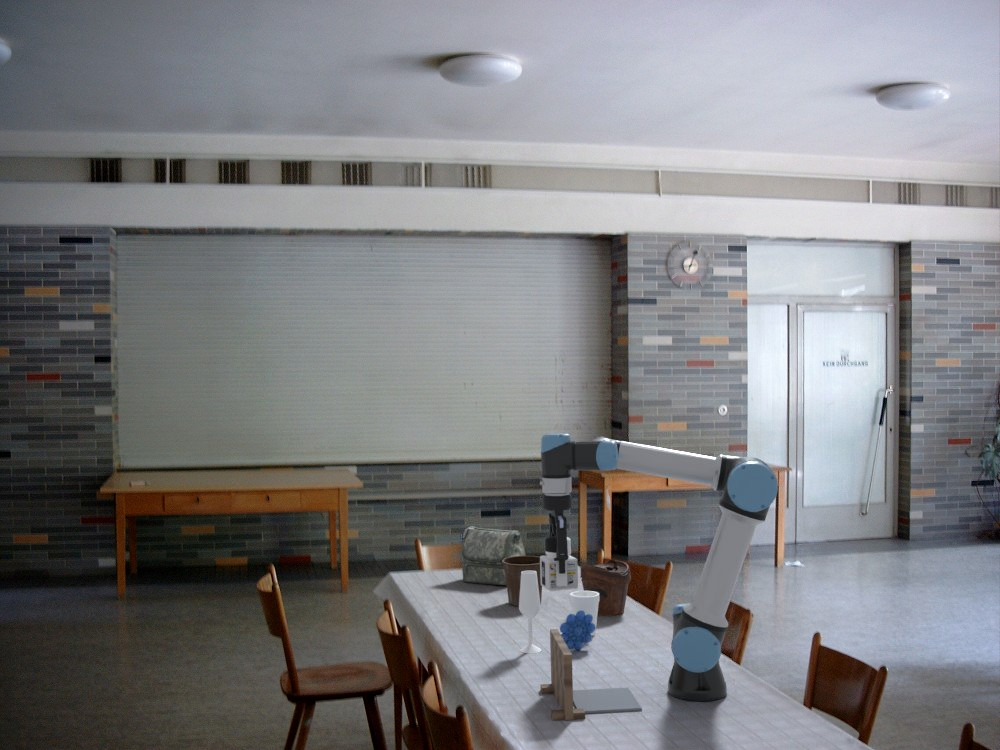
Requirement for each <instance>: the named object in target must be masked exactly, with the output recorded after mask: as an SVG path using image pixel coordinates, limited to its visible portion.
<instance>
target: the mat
mask: <svg viewBox="0 0 1000 750" xmlns="http://www.w3.org/2000/svg"><path fill="white" fill-rule="evenodd" d="M573 706H575V709H578V708H583V709H584V711H585V714H599V713H601V714H602V713H616V712H618V713H619V712H635V711H636V712H637V711H638V712H639V711H643V707H642V706H641V705H640V703H639V701H638V700H637V698H636V697H635V696H634V694H633V693H632V691H631V690H630V689H629V687H615V688H614V687H613V688H595V689H594V688H592V689H577V690H576V689H573Z"/></svg>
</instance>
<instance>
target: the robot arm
mask: <svg viewBox="0 0 1000 750" xmlns="http://www.w3.org/2000/svg"><path fill="white" fill-rule="evenodd" d="M540 444H541V447H540V457H541V460H540V461H541V463H540V464H541V481H540V482H539V485H540V486H541V488H542V489H541V491H542V493H543V494H542V509H543V510H545V511H551V512H548V524H549V532H548V534H549V536H548V537H550V536H555V545H556V558H554V561H556V586H567V559H568V549H567V537H568V535H567V523H568V522H567V516H565V514H564V511H568V510H571V509H572V508H573V503H572V500H573V497H572V494H570V493H571V492H572V491H573V490H572V488H573V487H572V485H573V484H572V471H602V472H605V471H615V470H622V471H627V472H633V473H639V474H643V475H650V476H655V477H658V478H659V477H661V478H666V479H671V480H675V481H676V480H677V481H682V482H687V483H692V484H699V485H703V486H709V487H712V489H713V490H714V491H716V492H721V493H722V494H721V498H720V499H719V502H718V506H719V509H720V510H721V513H722V514H721V516H720V520H719V523H718V525H717V528H716V531H715V534H714V536H713V540H712V543H711V546H710V548H709V551H708V554H707V557H706V560H705V563H704V566H703V568H702V572H701V573H700V578H699V580H698V584H697V585H696V588H695V592H694V595H693V598H692V600H691V602H690V603H679V604H675V605H674V606H673V609H672V614H671V615H672V621H673V623H672V625H673V626H672V628H673V629H672V630H673V631H672V639H671V648H670V649H671V653H672V656H673V665H672V667H671V672H670V675H669V677H668V681H667V682H668V683H667V693H668V694H670V695H671V696H673V697H675V698H678V699H682V700H685V701H694V702H710V701H715V700H721V699H722V698H724V697H726V695H727V690H728V689H727V682H726V680H725V677H724V676H725V675H724V674H723V671H722V668H721V665H720V658H721V656H722V646H723V641H724V638H725V636H726V634H727V631H728V627H729V622H728V620H727V619H726V614H727V610H728V608H729V605H730V602H731V598H732V596H733V594H734V590H735V588H736V585H737V582H738V579H739V576H740V573H741V571H742V569H743V565H744V562H745V559H746V556H747V554H748V552H749V551H748V550H749V548H750V544H751V542H752V539H753V536H754V534H755V530H756V528H757V526H758V525H760V524H763V523H764V522H765V521H766V518H767V515H768V513H769V511H770V507H771V505H772V504H773V503H774V501H775V499H776V498H777V494H778V492H779V491H778V490H779V484H778V483H779V482H778V479H777V476H776V474H775V472H774V471H773V470H772V468H771V467H770V466H769V465H768V464H767V463H766V462H765V461H763V460H762V459H759V458H757V457H751V456H734V455H726V454H719V455H718V456H716V457H715V456H709V455H703V454H697V453H691V452H687V451H680V450H675V449H669V448H663V447H657V446H653V445H647V444H642V443H634V442H630V441H629V442H628V441H624V440H616V439H612V438H608V437H606V436H600V435H599V436H595V437H593V438H591V439H590V440H583V441H580V440H579V441H578V440H572V439H571V435H570V434H569V433H566V432H565V433H562V432H561V433H559V432H558V433H557V432H555V433H546V434H544V435H542V437H541V443H540ZM560 554H562V555H560Z"/></svg>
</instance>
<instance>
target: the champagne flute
mask: <svg viewBox="0 0 1000 750" xmlns="http://www.w3.org/2000/svg"><path fill="white" fill-rule="evenodd" d="M518 610H519V612H520V614H522V615H523V616H524V617H525V618H526V619H527V624H528V627H527V628H528V629H527V630H528V635H527V636H528V644H527V645H525V646H523V647H522V648H520V649H519V651H520V653H523V654H537V653H540V652H542V649H541V648H540V647H539V646H536V645H535V644H533V619H534V618H535V617H536V616H537V615H538V614H539V612H540V610H541V604H540V597H539V589H538V580H537V572H536V571H531V570H528V571H522V572H521V583H520V597H519V607H518Z"/></svg>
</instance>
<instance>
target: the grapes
mask: <svg viewBox="0 0 1000 750" xmlns="http://www.w3.org/2000/svg"><path fill="white" fill-rule="evenodd" d="M592 620H593V617H592V615H591V614H587V615H585V612H584V611H578V612H577V613H576V616H575V615H574V614H573V613H569V614H568V615H566V619H565V621H566V622H563V623H562V624H560V626H559V632H560V634H561V636H562V638H563V640H564V641H565V643H566V645H567V647H568V648H569V650H570V651H571V650H572V649H573V648H574V649H575V651H580V650H581V649H583V647H584V644H589V643H591V641H592V639H593V638H592V637H593V636H591V634H590V633H593V632H594V631H595V628H596V629H597V626H596V627H595V624H594V623H591V622H592Z"/></svg>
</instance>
